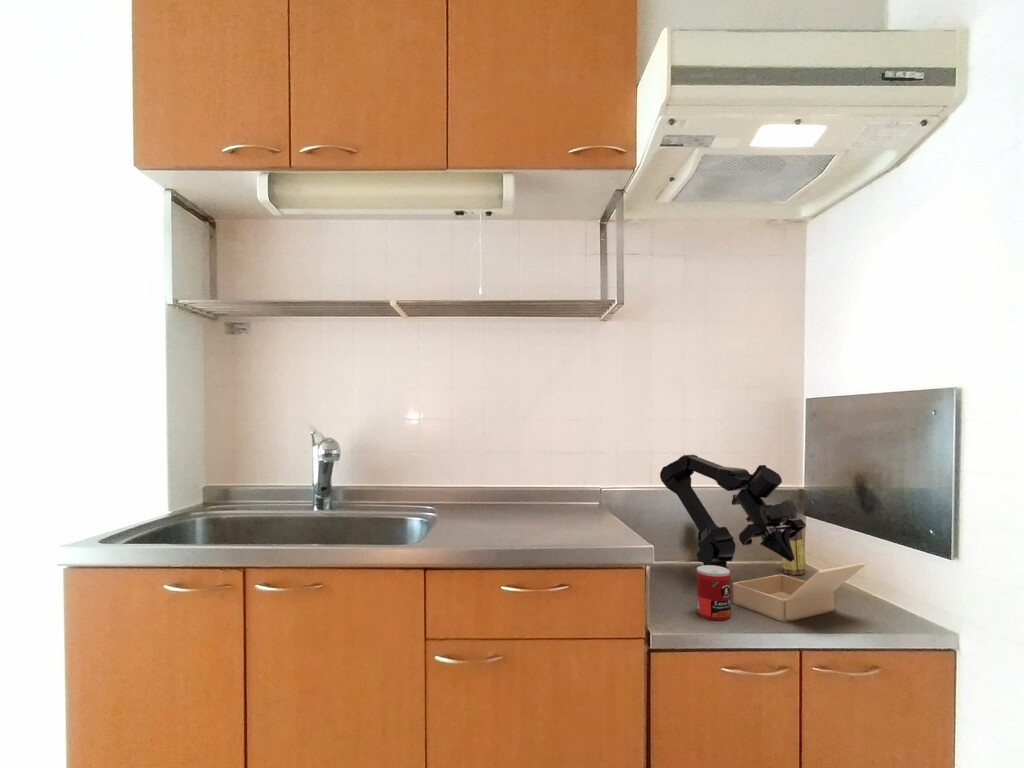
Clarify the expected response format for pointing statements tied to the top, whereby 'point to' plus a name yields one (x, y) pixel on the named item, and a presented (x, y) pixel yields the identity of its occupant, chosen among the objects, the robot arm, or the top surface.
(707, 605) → the canned food
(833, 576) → the carton flap
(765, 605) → the carton
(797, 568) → the sauce bottle
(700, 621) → the top surface
